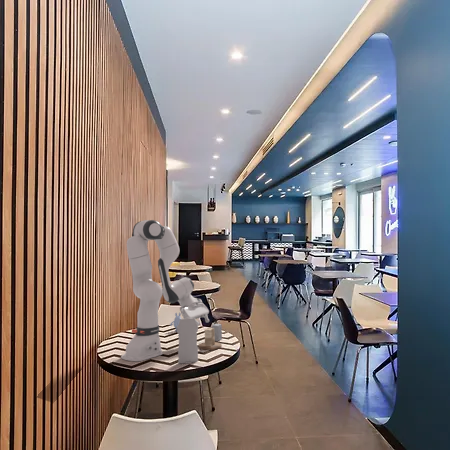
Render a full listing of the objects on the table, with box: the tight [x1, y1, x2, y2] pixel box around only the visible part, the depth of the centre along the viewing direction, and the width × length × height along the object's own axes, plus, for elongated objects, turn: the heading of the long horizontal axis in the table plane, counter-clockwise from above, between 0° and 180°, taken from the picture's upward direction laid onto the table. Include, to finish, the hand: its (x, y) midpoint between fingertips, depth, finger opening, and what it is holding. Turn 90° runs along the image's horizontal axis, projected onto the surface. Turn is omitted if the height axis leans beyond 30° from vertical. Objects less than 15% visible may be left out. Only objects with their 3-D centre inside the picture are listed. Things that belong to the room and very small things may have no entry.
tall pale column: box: [176, 317, 199, 365], centre depth 192 cm, size 11×4×22 cm, turn 106°
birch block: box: [204, 327, 216, 346], centre depth 217 cm, size 4×4×9 cm
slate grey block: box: [211, 323, 223, 342], centre depth 231 cm, size 4×4×9 cm
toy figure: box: [169, 312, 182, 332], centre depth 255 cm, size 11×6×12 cm, turn 107°
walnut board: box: [197, 341, 222, 351], centre depth 217 cm, size 13×13×1 cm
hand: (203, 323), depth 220 cm, fingers open, 8 cm apart
